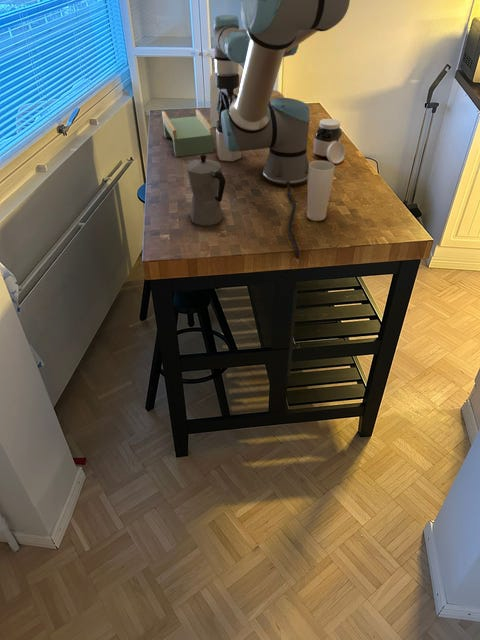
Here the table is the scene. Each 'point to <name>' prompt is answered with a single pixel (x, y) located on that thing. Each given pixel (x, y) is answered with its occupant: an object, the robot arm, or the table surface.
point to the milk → (214, 96)
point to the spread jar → (329, 141)
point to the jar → (224, 146)
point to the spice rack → (189, 134)
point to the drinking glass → (319, 189)
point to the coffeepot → (206, 191)
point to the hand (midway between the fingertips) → (228, 140)
